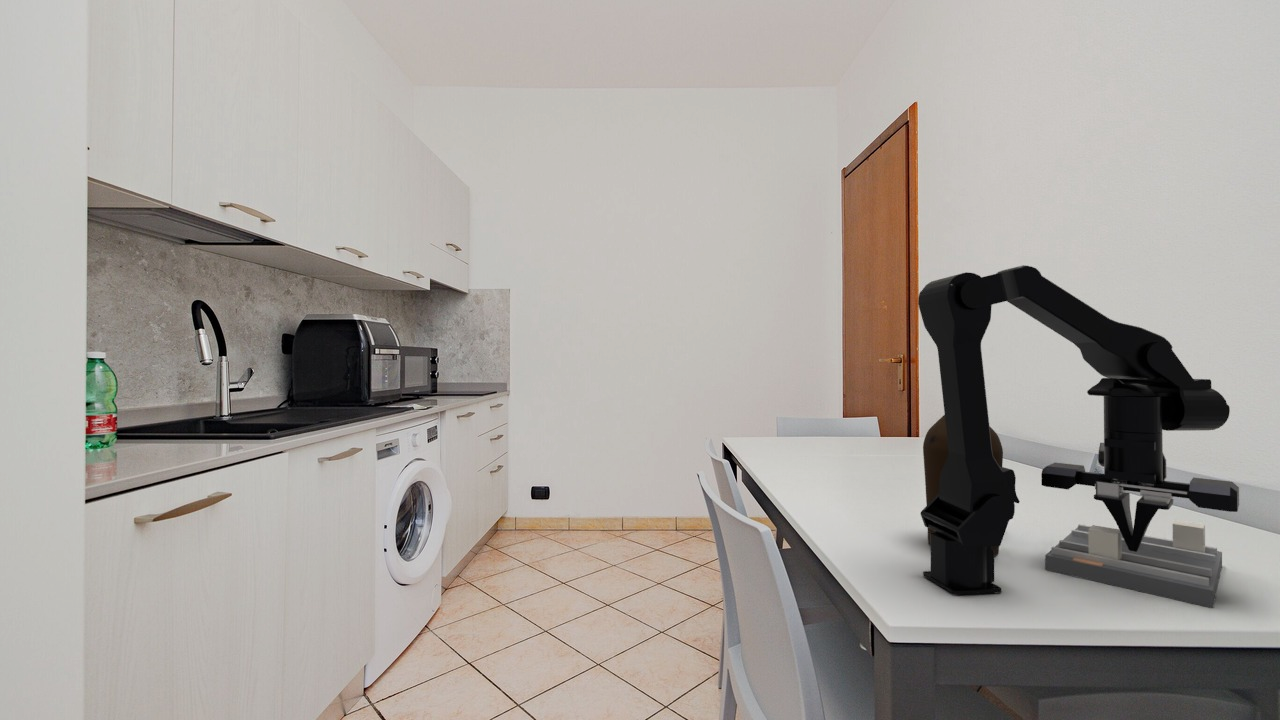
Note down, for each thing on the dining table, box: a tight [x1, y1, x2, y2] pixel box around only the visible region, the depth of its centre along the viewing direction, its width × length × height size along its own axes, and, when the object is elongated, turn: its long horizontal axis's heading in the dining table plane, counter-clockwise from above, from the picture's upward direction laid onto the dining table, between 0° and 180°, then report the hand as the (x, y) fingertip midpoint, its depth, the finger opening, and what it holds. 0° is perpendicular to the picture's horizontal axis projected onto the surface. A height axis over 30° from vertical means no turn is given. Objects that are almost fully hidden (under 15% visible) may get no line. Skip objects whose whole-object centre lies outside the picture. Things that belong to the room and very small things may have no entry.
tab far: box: [1172, 519, 1206, 553], centre depth 77 cm, size 3×3×4 cm
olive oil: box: [922, 414, 1004, 557], centre depth 85 cm, size 11×11×25 cm
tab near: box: [1088, 524, 1122, 560], centre depth 74 cm, size 3×3×4 cm
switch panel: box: [1044, 523, 1223, 609], centre depth 76 cm, size 20×16×3 cm
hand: (1133, 550), depth 72 cm, fingers closed
